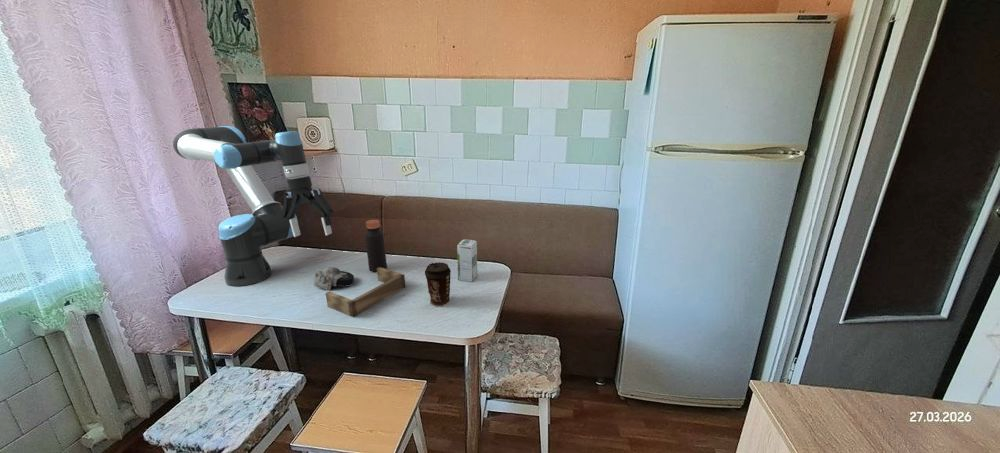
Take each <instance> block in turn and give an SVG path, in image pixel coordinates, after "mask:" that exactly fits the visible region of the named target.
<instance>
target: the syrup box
mask: <svg viewBox="0 0 1000 453" xmlns="http://www.w3.org/2000/svg"><path fill="white" fill-rule="evenodd" d="M456 247H457V248H456V251H457V252H456V253H457V280H458V281H462V282H471V283H472V282H474V280H475V279H476V277H477V276H478V242H477V240H474V239H462V240H461V241H460V242H459V243H457V246H456Z"/></svg>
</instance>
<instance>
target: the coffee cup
mask: <svg viewBox="0 0 1000 453" xmlns="http://www.w3.org/2000/svg"><path fill="white" fill-rule="evenodd" d="M424 275H425V279H426V283H427V284H426V285H427V291H428V294H429V295H430V300H429V301H430V302H429V303H430V305H431V306H434V307H440V308H441V307H444V306H446V305H448V304H449V302H450V296H451V268H450V267H449V264H448V263H446V262H442V261H441V262H431V263H429V264H428V265H427V266H426V269H425V270H424Z"/></svg>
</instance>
